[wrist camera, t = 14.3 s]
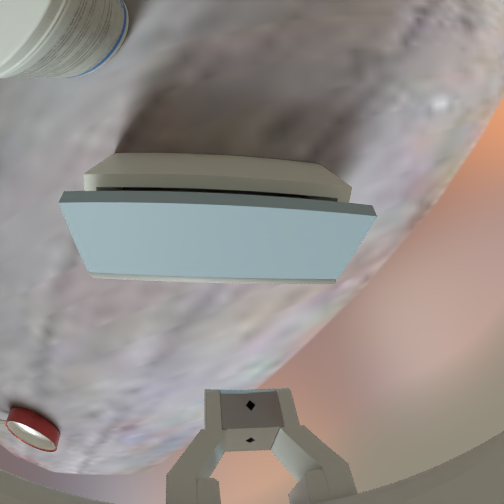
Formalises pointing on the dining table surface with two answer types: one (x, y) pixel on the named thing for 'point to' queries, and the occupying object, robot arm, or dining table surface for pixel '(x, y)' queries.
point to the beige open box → (216, 176)
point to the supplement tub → (59, 36)
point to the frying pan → (32, 429)
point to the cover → (214, 236)
